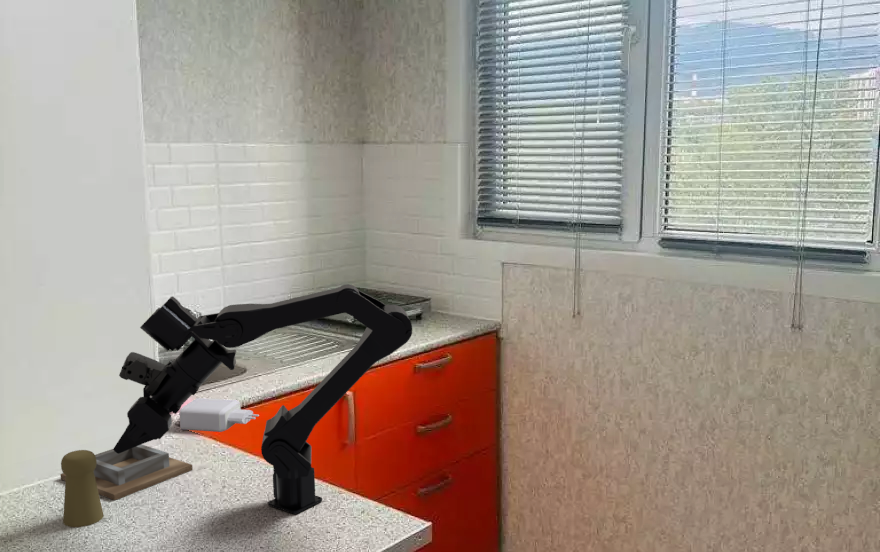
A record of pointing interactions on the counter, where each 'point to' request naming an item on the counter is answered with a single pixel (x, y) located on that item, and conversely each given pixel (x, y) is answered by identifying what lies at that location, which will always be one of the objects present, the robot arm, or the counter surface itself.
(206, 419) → the charger
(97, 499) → the cork
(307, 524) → the counter surface
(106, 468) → the socket base
